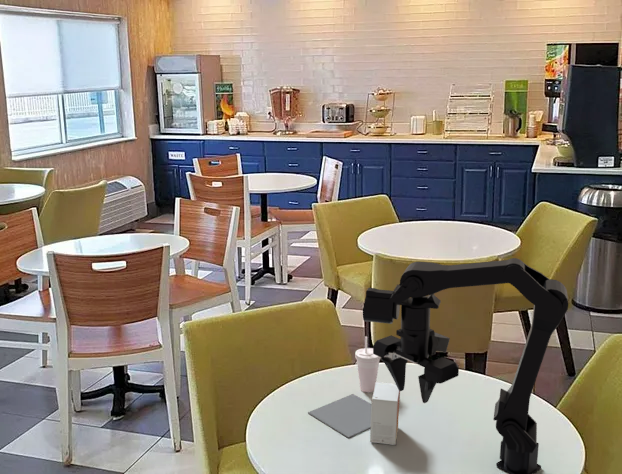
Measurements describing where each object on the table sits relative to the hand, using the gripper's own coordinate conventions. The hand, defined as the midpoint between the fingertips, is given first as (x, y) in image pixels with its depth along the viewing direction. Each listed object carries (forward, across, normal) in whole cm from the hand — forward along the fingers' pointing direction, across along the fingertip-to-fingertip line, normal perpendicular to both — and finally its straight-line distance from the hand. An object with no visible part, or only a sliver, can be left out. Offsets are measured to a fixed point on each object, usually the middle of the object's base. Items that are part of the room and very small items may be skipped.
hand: (413, 396), depth 142 cm
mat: (+12, +19, 0) cm, 23 cm away
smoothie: (+13, +26, -12) cm, 31 cm away
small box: (+12, +8, 0) cm, 15 cm away
